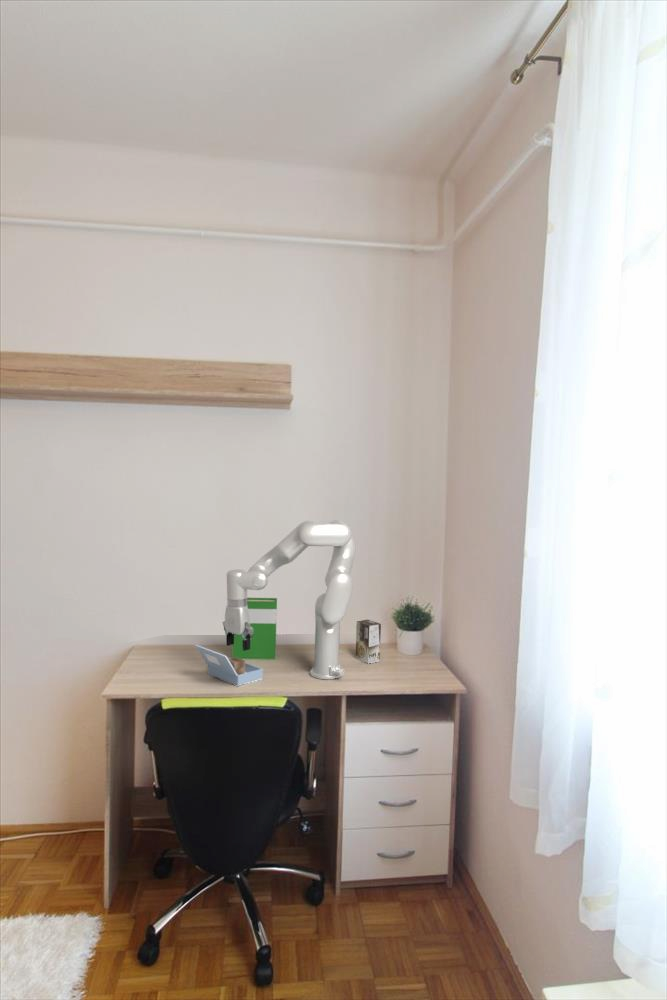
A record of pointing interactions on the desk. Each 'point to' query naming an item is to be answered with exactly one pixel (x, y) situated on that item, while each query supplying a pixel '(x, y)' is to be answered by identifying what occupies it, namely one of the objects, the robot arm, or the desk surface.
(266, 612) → the hardback book
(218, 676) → the mailer box
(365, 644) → the coffee box
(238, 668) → the walnut block
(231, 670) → the lid
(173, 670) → the desk surface
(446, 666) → the desk surface
